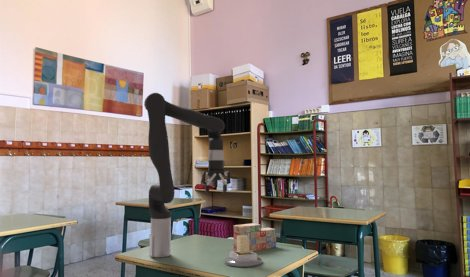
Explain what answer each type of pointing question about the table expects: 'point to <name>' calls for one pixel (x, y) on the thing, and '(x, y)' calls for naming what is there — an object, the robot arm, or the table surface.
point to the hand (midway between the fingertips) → (216, 192)
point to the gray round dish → (243, 259)
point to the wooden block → (242, 244)
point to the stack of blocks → (256, 236)
